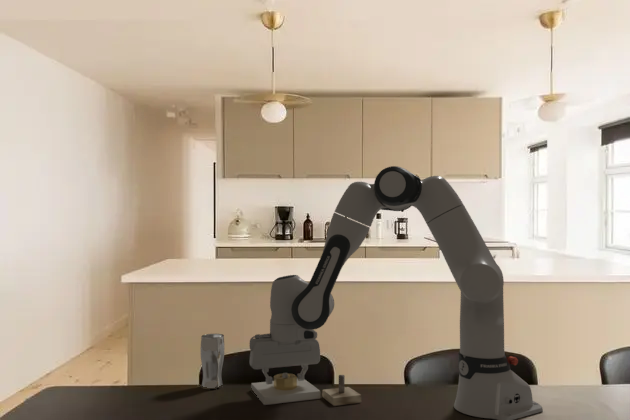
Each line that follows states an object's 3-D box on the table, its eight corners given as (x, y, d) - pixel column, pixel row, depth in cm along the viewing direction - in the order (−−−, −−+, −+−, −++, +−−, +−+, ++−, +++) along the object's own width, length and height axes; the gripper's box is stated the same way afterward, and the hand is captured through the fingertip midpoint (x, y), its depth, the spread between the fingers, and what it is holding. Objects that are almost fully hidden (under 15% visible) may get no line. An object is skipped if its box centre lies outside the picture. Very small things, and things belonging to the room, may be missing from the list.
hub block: (303, 384, 156) (303, 364, 156) (320, 398, 143) (320, 376, 143) (251, 390, 150) (251, 369, 150) (264, 404, 137) (264, 381, 137)
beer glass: (218, 391, 149) (219, 338, 149) (196, 389, 150) (196, 337, 151) (227, 384, 155) (228, 333, 156) (205, 383, 157) (206, 333, 158)
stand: (348, 394, 147) (348, 370, 147) (361, 402, 139) (361, 377, 140) (322, 397, 144) (322, 373, 144) (333, 405, 136) (333, 380, 137)
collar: (291, 383, 150) (292, 372, 150) (298, 388, 145) (298, 378, 145) (271, 385, 148) (272, 374, 148) (278, 391, 142) (278, 380, 143)
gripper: (252, 337, 140) (252, 388, 140) (322, 332, 148) (322, 381, 147) (246, 332, 146) (246, 382, 146) (314, 328, 154) (314, 375, 153)
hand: (285, 382), depth 146 cm, fingers open, 8 cm apart
